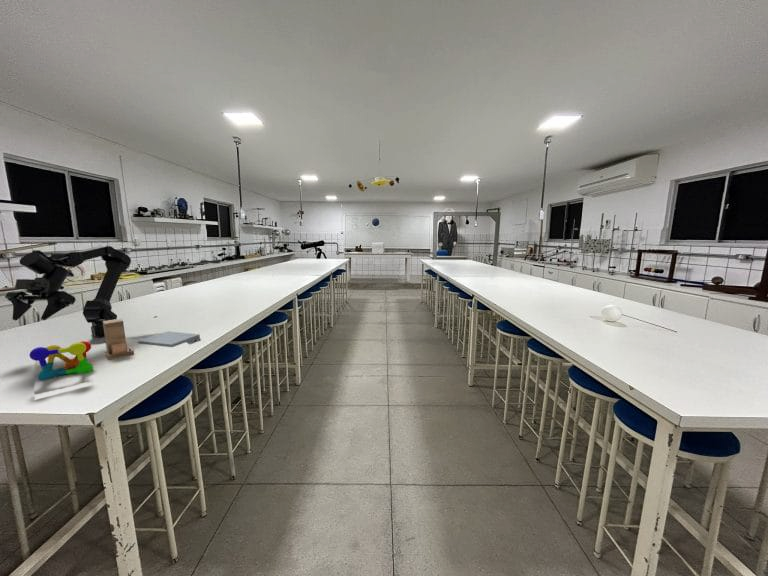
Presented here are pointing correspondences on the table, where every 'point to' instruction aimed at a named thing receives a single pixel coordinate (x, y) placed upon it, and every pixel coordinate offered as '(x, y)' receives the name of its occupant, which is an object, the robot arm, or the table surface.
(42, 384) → the table surface
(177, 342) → the plate
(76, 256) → the robot arm
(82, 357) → the molecular model
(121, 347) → the block
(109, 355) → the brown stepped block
